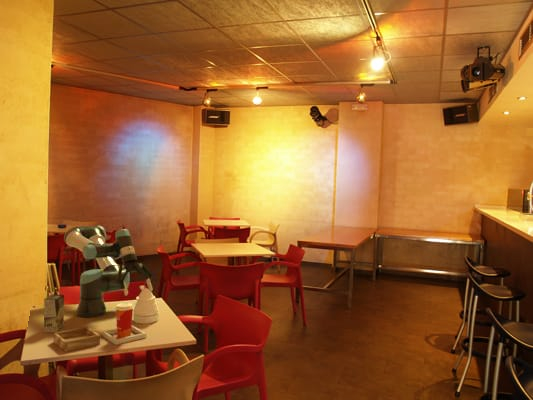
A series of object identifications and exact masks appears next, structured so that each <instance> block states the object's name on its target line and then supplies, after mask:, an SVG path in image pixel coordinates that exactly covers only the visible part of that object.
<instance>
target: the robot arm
mask: <svg viewBox="0 0 533 400" xmlns="http://www.w3.org/2000/svg"><path fill="white" fill-rule="evenodd" d="M106 233H107V232H106V229H105V228H104V227H103V226H101V225H96V224H95V225H84V226H83V225H82V226H80V225H79V226H73V227H71V228H69V229H68V230H66V231H65V233H64V236H63V241H64V242H65V244H66V245H67V246H69V247H71V248H76V249H77V250H79V251H80V252H82V255H83V258H84V259H85V260H89V259H90V260H93V259H95V260H96V261H97V264H98V266H99V269H98V268H97V269H95V268H94V269H90V270H85V271H83V272H82V273H81V275H80V278H79V279H80V281H79V289H80V290H79V294H80V295H79V302H78V306H77V309H76V316H77V317H81V318H96V317H100V316H103V315H106V313H107V306H106V303H105V301H104V293H113V292H118V291H120V292H121V291H123V293H124V296H128V294H129V290H128V288H129V285H130V280H131V279H130V278H131V277H130V274H131V273H137V274H139V275H140V276H142V277H143V278H144V279H146V284H147V288H148V289H149V290H150V291H151V292H152V291H153V281H152V278H154V274H153V273H152V272H151V270H150V269H149V268H148V267H147V266H146V264H145V262H143V261H142V262H141V263H139V262H138V261H139V260H138V257H137V254H136V250H135V248H134V243H133V240H132V237H131V234H130V231H129V229H126V228H123V229H119V230H117V231H115V233H114V235H115V236H114V237H115V240H114V242H107V243H106V241H107V234H106ZM119 258H121V260H122V264H117V263H116V261H115V260H118V259H119Z"/></svg>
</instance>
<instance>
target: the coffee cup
mask: <svg viewBox="0 0 533 400" xmlns="http://www.w3.org/2000/svg"><path fill="white" fill-rule="evenodd" d="M134 309H135V306H133V303H131V302H130V303H129V302H125V303H124V302H122V303H118V304H116V306H115V316H116V317H115V319H116V328H117V333H116V335H117V339H120V338H124V337H129V336H132V330H131V327H132V326H133V314H134V312H133V311H134Z"/></svg>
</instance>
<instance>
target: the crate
mask: <svg viewBox="0 0 533 400" xmlns="http://www.w3.org/2000/svg"><path fill="white" fill-rule="evenodd" d="M53 343H54V344H56V345H57V346H58V347H59V348H60V349H61V350H62V351H63V352H65V353H66V352H71V351H75V349H76V350H80V349H84V348H87V347H88V348H89V347H93V346H98V345H100V344H101V335H100V334H99V333H97V332H96V331H94V330H93V329H92V328H90V327H89V326H84V327H79V328H73V329H68V330H63V331H58V332H53ZM70 350H71V351H70Z"/></svg>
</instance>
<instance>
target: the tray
mask: <svg viewBox="0 0 533 400" xmlns="http://www.w3.org/2000/svg"><path fill="white" fill-rule="evenodd" d="M131 332H133V333H134V334H135V335H131V336H129V337H124V338H116V337H114V336H113V335H115V334H117V327H116V328H113V329H108V330H104V331H101V336H102V337H103V338H105V339H106V340H108V341H109V342H111V343H112V344H114V345H115V346H116V345H119V344H120V345H121V344H124V343H128V342H133V341H137V340H141V339H142V340H143V339H146V338H147V332H145V331H143V330H142V329H139V328H137V327H136V326H135V325H132V327H131Z"/></svg>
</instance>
